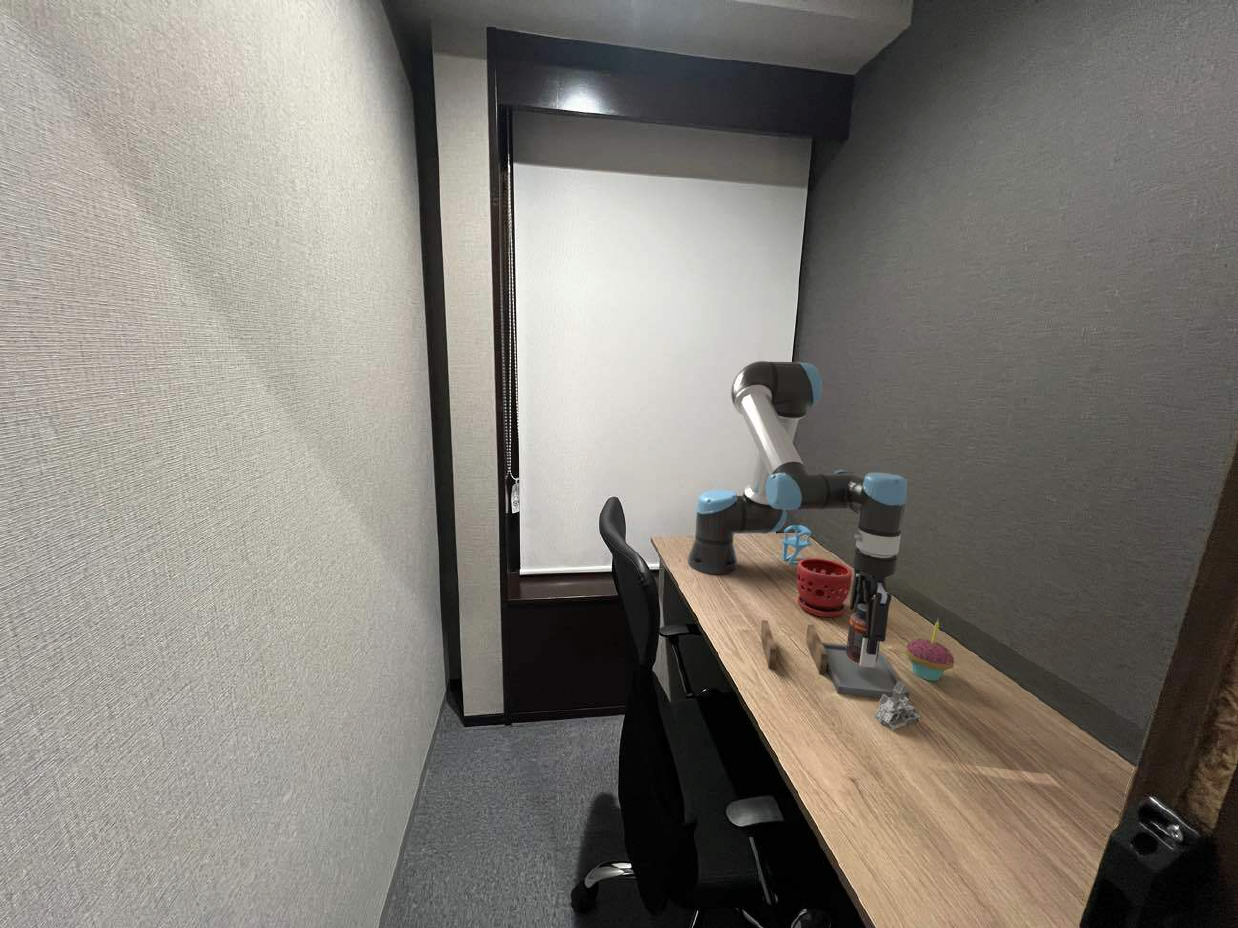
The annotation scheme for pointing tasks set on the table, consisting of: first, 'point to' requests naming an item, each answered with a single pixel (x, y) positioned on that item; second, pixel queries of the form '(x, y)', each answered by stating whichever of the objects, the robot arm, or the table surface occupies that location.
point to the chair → (795, 542)
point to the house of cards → (896, 709)
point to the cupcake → (929, 657)
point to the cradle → (811, 641)
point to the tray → (860, 674)
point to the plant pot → (823, 586)
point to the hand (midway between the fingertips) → (861, 656)
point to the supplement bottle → (857, 634)
